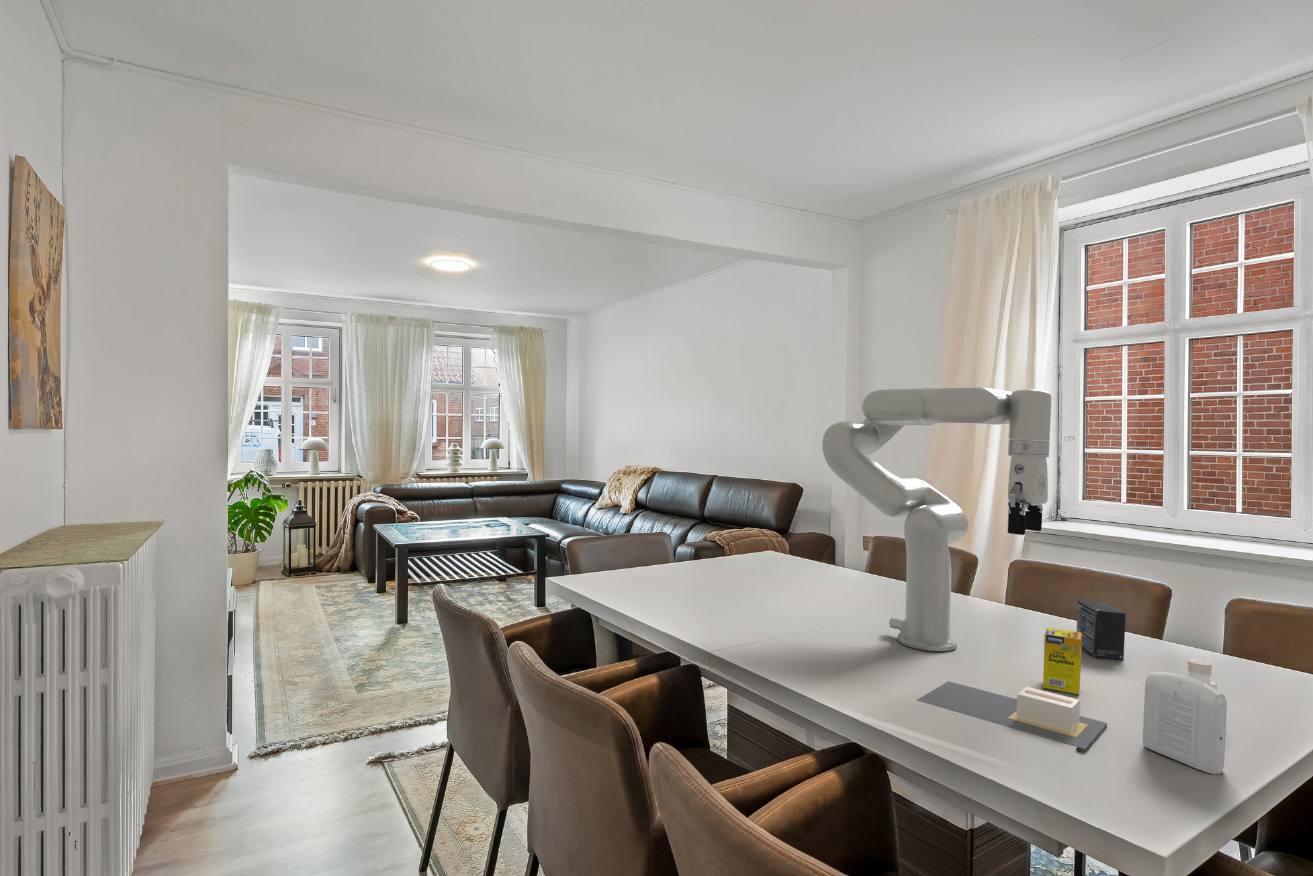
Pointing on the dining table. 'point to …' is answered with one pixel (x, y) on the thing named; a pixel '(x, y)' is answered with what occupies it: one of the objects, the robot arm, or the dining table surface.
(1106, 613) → the small box
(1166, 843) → the dining table surface
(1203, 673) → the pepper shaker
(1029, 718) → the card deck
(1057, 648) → the supplement box
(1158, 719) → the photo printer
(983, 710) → the mat
